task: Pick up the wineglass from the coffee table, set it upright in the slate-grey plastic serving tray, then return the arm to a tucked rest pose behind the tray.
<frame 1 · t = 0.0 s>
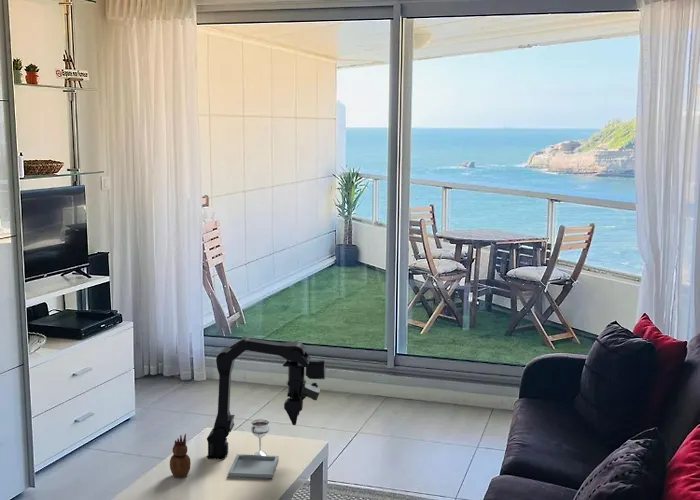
hand: (295, 420, 273), 15 cm above the table, tool pointing down, fingers open, 9 cm apart
serving tray: (254, 468, 266), on the table
wineglass: (260, 454, 279), on the table
wooden figurine: (180, 476, 260), on the table
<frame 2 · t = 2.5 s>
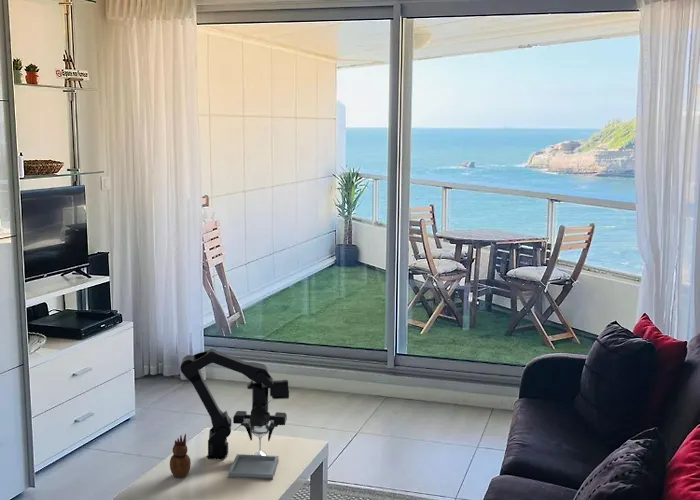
hand: (260, 440, 278), 5 cm above the table, tool pointing down, fingers closed on wineglass, 6 cm apart
wineglass: (260, 454, 279), on the table, touching gripper
everything else where it was.
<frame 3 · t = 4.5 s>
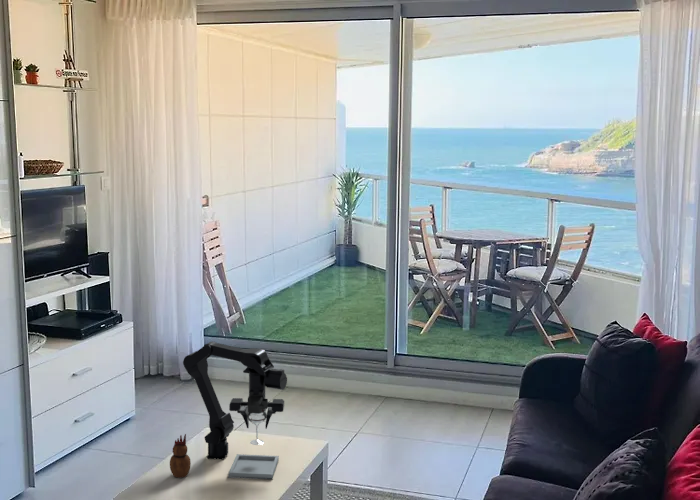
hand: (257, 428, 269), 13 cm above the table, tool pointing down, fingers closed on wineglass, 6 cm apart
wineglass: (257, 442, 270), point 8 cm above the table, touching gripper
everything else where it was.
when the fingers open (7 cm above the table, at t = 6.8 s): wineglass stays where it is, resting on serving tray.
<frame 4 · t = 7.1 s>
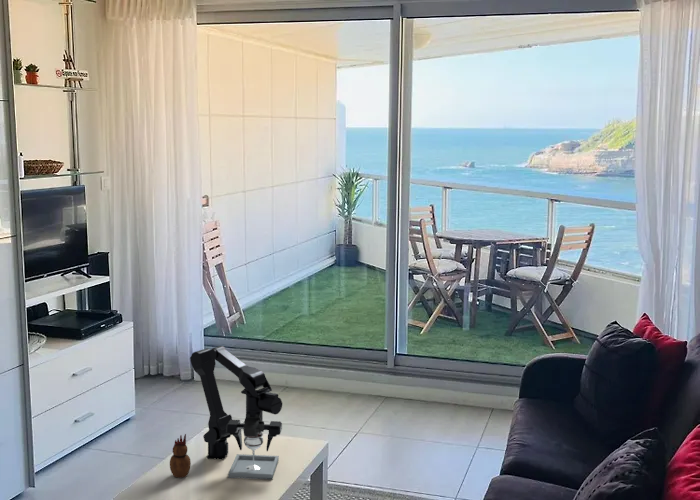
hand: (254, 450, 265), 7 cm above the table, tool pointing down, fingers open, 9 cm apart
wineglass: (253, 467, 266), resting on serving tray
everything else where it was.
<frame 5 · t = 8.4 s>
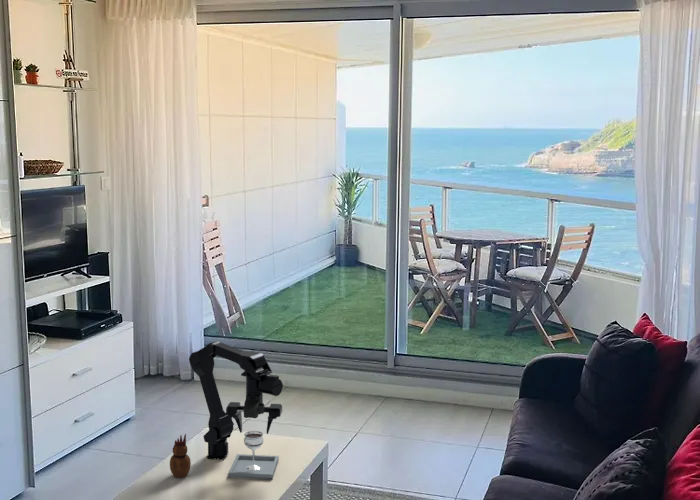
hand: (254, 433, 265), 13 cm above the table, tool pointing down, fingers open, 9 cm apart
nothing on the table moved.
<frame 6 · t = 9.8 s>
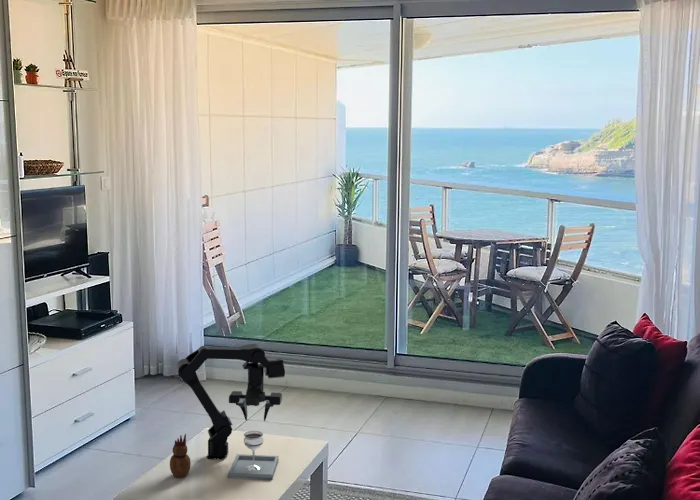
hand: (255, 420, 279), 12 cm above the table, tool pointing down, fingers open, 6 cm apart
nothing on the table moved.
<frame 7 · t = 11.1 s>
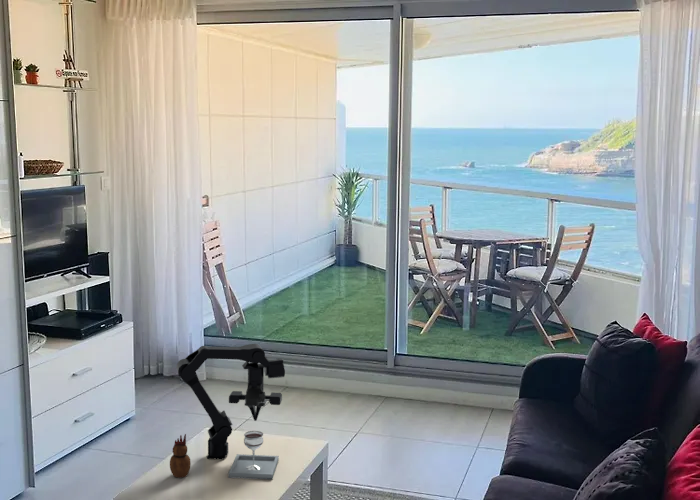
hand: (255, 420, 279), 12 cm above the table, tool pointing down, fingers closed
nothing on the table moved.
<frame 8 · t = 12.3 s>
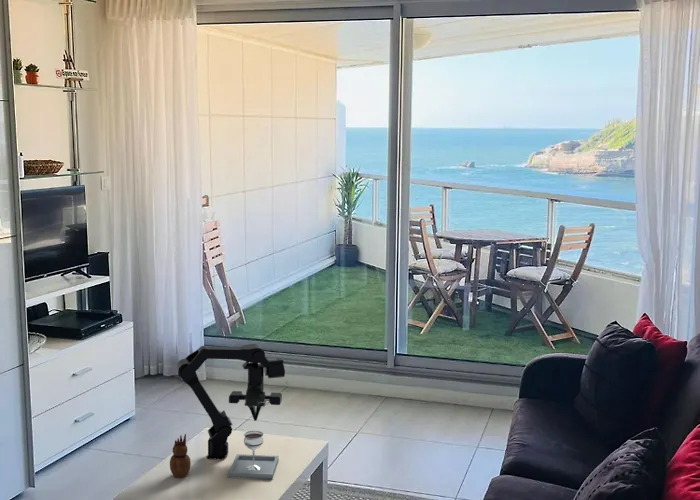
hand: (255, 420, 279), 12 cm above the table, tool pointing down, fingers closed
nothing on the table moved.
at the end: wineglass inside the target area on the serving tray (0.2 cm from its centre), point 0.4 cm above the serving tray's base; wineglass tilted 0°; the gripper is holding nothing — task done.
